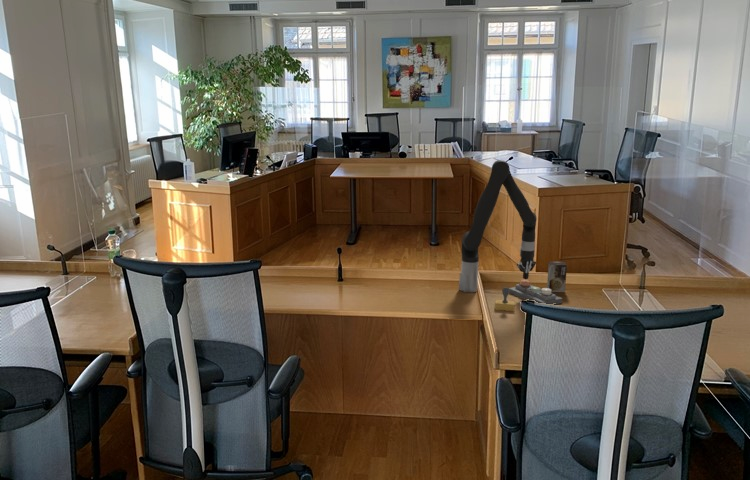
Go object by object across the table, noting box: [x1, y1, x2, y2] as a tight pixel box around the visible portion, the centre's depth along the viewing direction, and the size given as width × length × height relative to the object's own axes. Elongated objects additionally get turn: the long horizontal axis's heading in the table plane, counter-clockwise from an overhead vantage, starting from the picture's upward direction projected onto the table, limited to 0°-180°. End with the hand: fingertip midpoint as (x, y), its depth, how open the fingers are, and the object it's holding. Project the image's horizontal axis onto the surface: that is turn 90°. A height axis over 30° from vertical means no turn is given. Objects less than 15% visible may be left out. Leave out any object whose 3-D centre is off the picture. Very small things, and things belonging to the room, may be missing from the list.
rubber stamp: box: [494, 286, 516, 312], centre depth 319 cm, size 10×6×12 cm, turn 77°
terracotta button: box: [519, 279, 531, 287], centre depth 342 cm, size 5×5×2 cm
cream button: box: [541, 287, 552, 296], centre depth 329 cm, size 5×5×2 cm
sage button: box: [531, 286, 541, 292], centre depth 336 cm, size 5×5×2 cm
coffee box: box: [546, 261, 568, 293], centre depth 347 cm, size 9×6×16 cm
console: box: [508, 283, 563, 305], centre depth 337 cm, size 14×26×4 cm, turn 30°
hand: (525, 278), depth 342 cm, fingers closed
